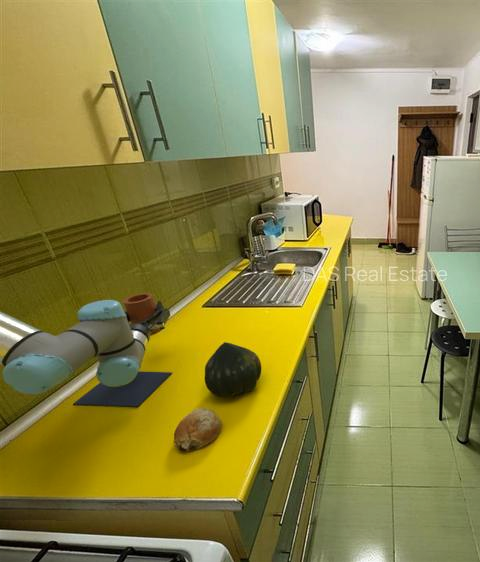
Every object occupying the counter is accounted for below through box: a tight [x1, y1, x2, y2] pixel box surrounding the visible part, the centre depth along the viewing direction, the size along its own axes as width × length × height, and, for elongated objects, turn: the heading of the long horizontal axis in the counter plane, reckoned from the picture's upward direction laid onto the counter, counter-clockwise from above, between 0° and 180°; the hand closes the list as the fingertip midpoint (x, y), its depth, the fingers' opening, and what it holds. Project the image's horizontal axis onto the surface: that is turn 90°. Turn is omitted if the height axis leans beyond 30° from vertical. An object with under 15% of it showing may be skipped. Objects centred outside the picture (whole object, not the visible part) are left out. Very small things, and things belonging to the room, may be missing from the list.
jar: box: [122, 292, 162, 337], centre depth 97 cm, size 7×7×12 cm
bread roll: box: [173, 407, 223, 452], centre depth 74 cm, size 10×10×8 cm
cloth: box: [72, 370, 173, 408], centre depth 90 cm, size 19×14×1 cm
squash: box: [204, 341, 263, 398], centre depth 88 cm, size 14×15×15 cm
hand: (146, 307), depth 100 cm, fingers closed on jar, 7 cm apart
